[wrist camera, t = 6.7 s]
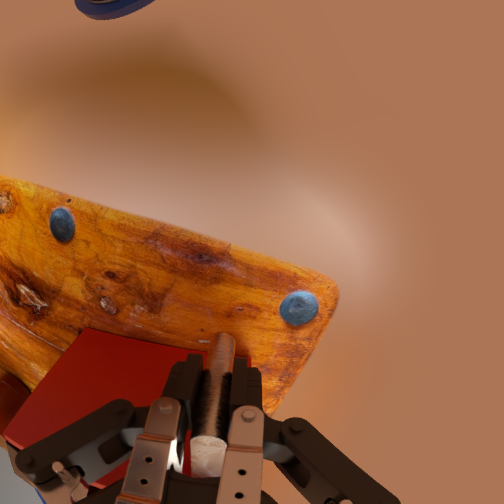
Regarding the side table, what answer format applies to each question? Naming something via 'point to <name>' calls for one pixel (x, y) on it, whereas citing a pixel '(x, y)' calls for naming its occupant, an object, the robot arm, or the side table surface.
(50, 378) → the door
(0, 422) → the mug
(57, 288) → the side table surface
